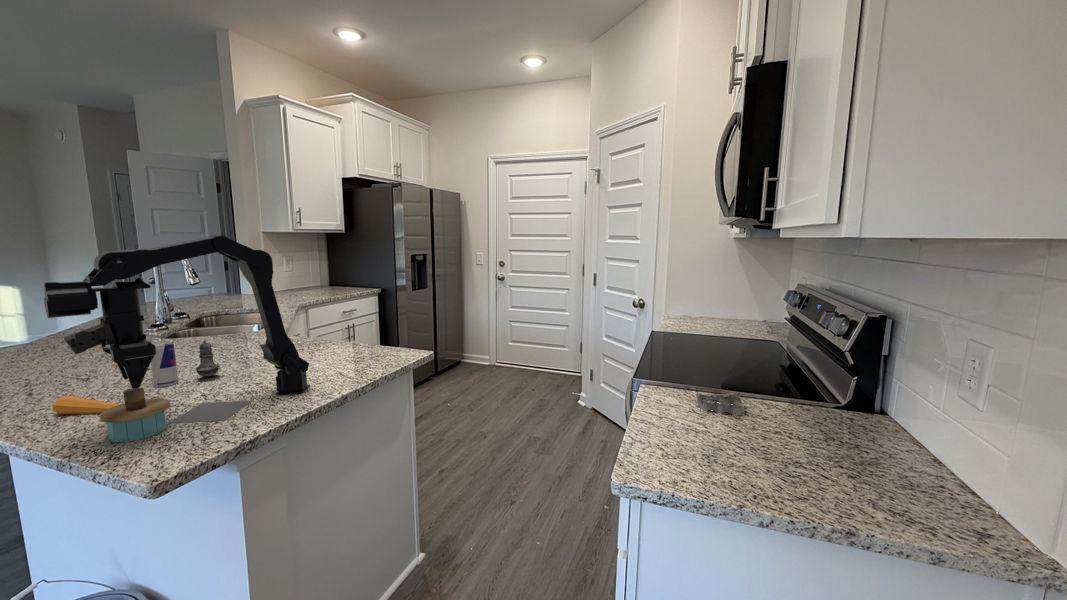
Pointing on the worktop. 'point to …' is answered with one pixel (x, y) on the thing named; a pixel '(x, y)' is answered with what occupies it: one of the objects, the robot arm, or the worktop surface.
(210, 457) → the worktop surface
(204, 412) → the mat
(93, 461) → the worktop surface
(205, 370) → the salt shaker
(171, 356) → the energy drink
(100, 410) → the carrot
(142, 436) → the bowl
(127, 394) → the lid
